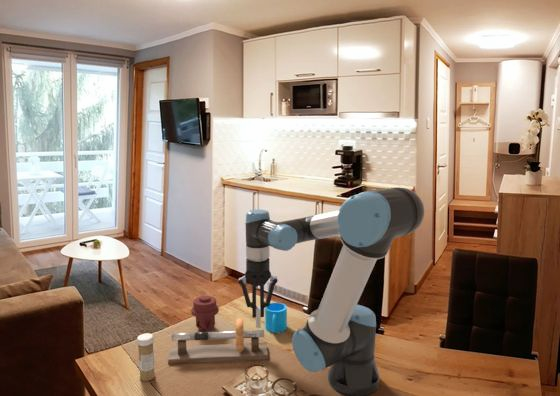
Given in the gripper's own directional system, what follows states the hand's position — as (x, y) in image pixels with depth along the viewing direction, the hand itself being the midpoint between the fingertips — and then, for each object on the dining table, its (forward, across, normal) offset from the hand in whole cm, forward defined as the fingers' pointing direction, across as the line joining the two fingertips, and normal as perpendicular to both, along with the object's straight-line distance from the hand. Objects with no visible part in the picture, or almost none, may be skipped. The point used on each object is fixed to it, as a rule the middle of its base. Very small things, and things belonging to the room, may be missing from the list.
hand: (258, 325), depth 144 cm
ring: (+7, +6, 0) cm, 9 cm away
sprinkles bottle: (+10, +34, +11) cm, 37 cm away
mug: (+10, -7, -16) cm, 20 cm away
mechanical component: (+10, +19, -19) cm, 29 cm away
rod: (+4, +13, 0) cm, 14 cm away
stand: (+10, +13, 0) cm, 16 cm away
